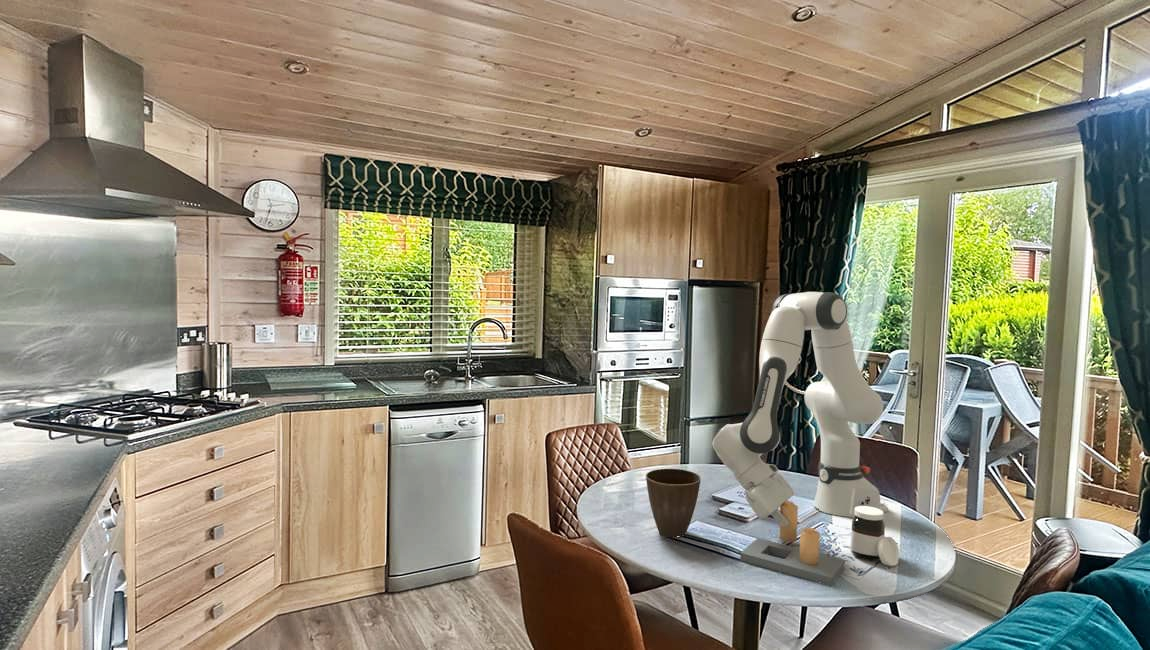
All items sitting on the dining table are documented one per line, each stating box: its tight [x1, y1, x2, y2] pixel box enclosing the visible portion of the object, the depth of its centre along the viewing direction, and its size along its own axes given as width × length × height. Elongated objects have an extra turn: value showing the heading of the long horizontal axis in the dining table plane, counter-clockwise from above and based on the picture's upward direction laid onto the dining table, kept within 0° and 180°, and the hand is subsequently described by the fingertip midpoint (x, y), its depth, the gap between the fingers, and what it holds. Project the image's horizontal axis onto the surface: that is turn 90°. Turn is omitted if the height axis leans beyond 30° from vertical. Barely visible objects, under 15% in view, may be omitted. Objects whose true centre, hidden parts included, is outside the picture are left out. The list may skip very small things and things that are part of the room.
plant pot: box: [645, 468, 702, 538], centre depth 178 cm, size 15×15×16 cm
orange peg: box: [778, 500, 799, 543], centre depth 172 cm, size 4×4×10 cm
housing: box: [739, 526, 846, 586], centre depth 160 cm, size 22×12×10 cm, turn 54°
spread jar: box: [850, 506, 900, 567], centre depth 165 cm, size 12×11×12 cm
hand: (791, 521), depth 172 cm, fingers closed on orange peg, 4 cm apart
